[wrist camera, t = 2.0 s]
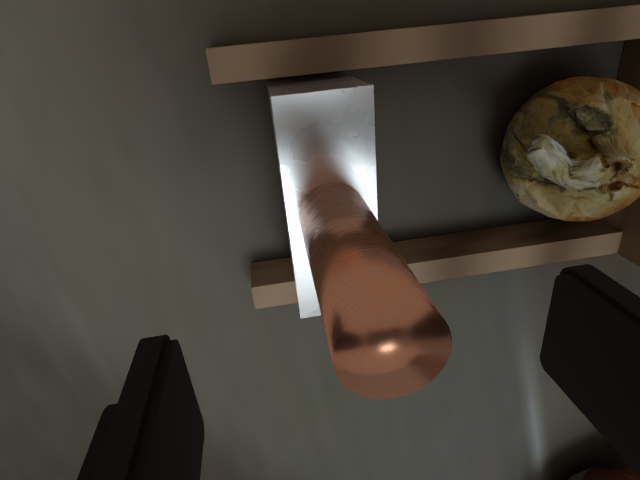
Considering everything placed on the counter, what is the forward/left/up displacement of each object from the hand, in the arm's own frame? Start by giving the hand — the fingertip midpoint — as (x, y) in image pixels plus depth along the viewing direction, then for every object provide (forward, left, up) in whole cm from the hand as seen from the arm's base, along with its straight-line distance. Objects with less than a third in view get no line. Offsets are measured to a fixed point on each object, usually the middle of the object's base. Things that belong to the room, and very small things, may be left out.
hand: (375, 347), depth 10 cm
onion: (-14, 0, -16) cm, 22 cm away
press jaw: (0, 0, -15) cm, 15 cm away
